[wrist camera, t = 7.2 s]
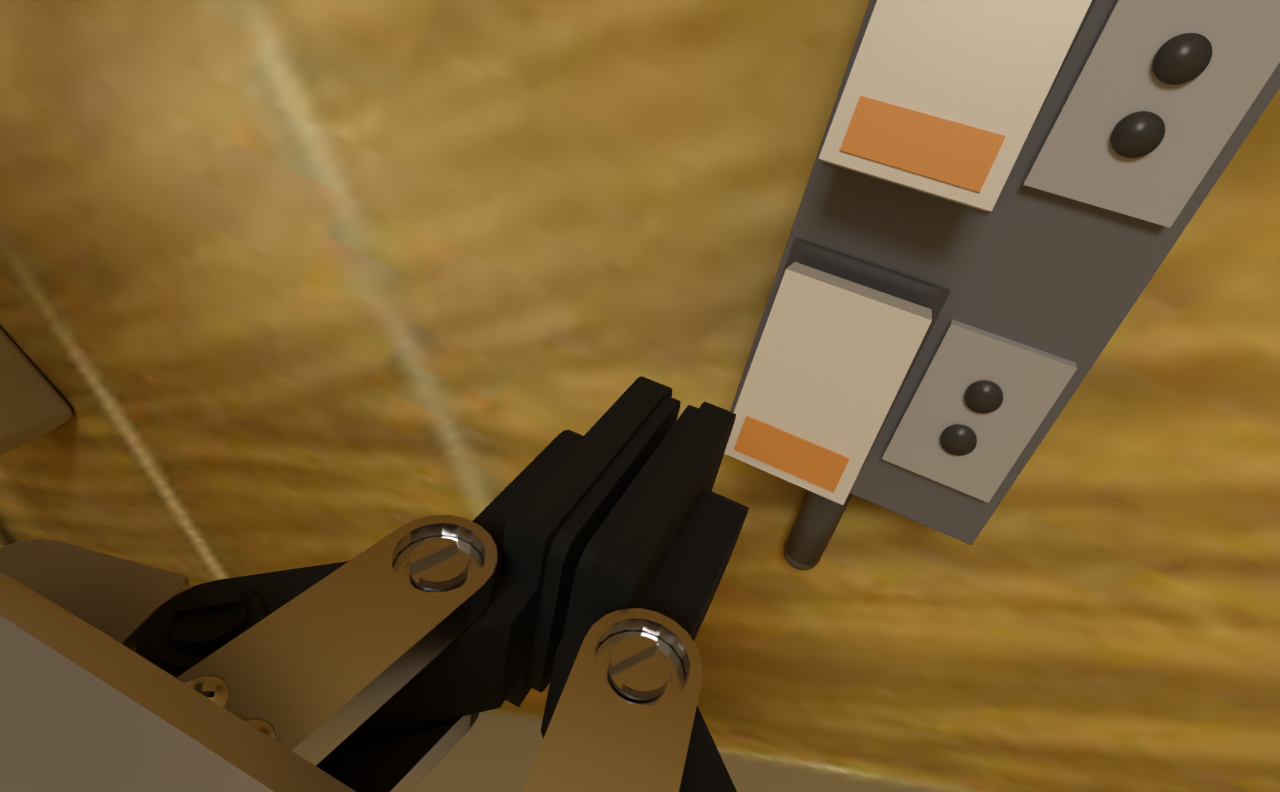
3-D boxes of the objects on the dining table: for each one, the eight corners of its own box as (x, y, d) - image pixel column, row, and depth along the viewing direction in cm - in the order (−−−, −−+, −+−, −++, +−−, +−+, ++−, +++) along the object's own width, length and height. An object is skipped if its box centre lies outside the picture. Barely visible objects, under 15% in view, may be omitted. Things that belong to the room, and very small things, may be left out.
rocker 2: (927, -113, 15) (929, -144, 13) (1119, -75, 14) (1142, -105, 13) (824, 162, 17) (817, 158, 16) (984, 211, 16) (992, 211, 15)
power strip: (947, -159, 18) (939, -215, 14) (1325, -93, 16) (1443, -137, 12) (711, 505, 32) (673, 573, 28) (899, 591, 29) (887, 679, 25)
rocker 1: (794, 261, 19) (785, 269, 18) (931, 309, 18) (931, 320, 17) (730, 435, 22) (718, 452, 21) (848, 485, 21) (843, 506, 20)
